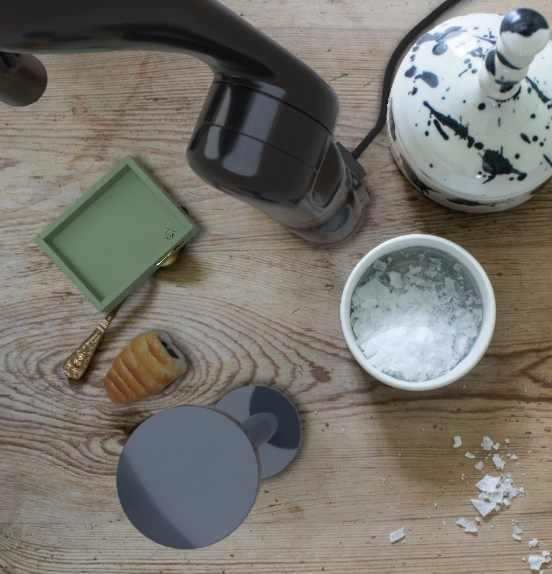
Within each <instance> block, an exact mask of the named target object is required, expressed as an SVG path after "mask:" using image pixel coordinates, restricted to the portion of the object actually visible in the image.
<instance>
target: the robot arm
mask: <svg viewBox="0 0 552 574" xmlns="http://www.w3.org/2000/svg"><path fill="white" fill-rule="evenodd" d="M460 1H461V0H444V1H443V2H442V3H441V4H439V5H438V6H437V7H436V8H434V10H432V11H431V12H430V13H429V14H427V16H425V17H424V18H423V19H422V20H421V21H419V22H418V23H417V24H416V25H415V26H413V28H411V30H409V31H408V32H407V34H405V36H404V37H403V38H402V39H401V40H400V42H399V43H398V44H397V46H396V47H395V49H394V50H393V53H392V54H391V56H390V58H389V61H388V63H387V65H386V70H385V73H384V77H383V82H382V83H383V84H382V92H381V103H380V109H379V115H378V119H377V121H376V124H375V125H374V127H373V128H372V129H371V130H370V131H369V132H368V133H367V135H365V137H364V138H363V139H362V141H360V143H359V144H358V145H357V146H356V148H355V149H354V150H353V151H352V152H350V151H348V150H347V148H346V147H345V146H344V145H343V144H342V143H341V142H340V141H339V140H337V142H335V140H333V136H334V135H335V132H336V128H337V126H338V122H339V116H340V111H341V104H340V99H339V96H338V94H337V92H336V91H335V89H334V88H333V86H332V85H331V84H330V83H329V82H328V81H327V80H326V79H325V78H324V77H323V76H322V75H321V74H320V73H318V71H316V70H315V69H314V68H312V66H310V65H309V64H308V63H307V62H305V61H303V60H302V59H301V58H300V57H298V56H297V55H296V54H294V52H292V51H290V50H288V49H287V48H286V47H284V46H283V45H281V44H280V43H279V42H278V41H276V40H274V39H273V38H272V37H270V36H269V35H267V34H266V33H265V32H264V31H261V30H260V29H259V28H258V27H256V26H254V25H253V24H252V23H250V22H249V21H248V20H247V19H245V18H243V16H240V15H239V14H237V13H236V12H235V11H233V10H231V8H230V7H229V8H228V7H227V6H226V5H224V3H222V2H220V1H219V0H0V71H1V73H2V74H3V75H4V76H8V75H14V74H15V73H16V72H17V71H18V70H19V69H20V68H21V62H22V61H23V58H22V54H32V55H34V56H37V55H39V56H40V55H41V56H42V55H46V56H47V55H81V54H83V55H84V54H99V53H100V54H101V53H113V52H131V51H132V52H135V51H136V52H139V51H141V52H142V51H143V52H156V53H157V52H158V53H169V54H170V53H172V54H181V55H186V56H190V57H193V58H195V59H197V60H199V61H201V62H202V63H204V64H205V65H206V66H207V67H209V69H210V70H211V71H212V74H213V79H212V81H211V85H210V87H209V89H208V92H207V94H206V96H205V99H204V101H203V104H202V107H201V108H200V109H201V110H200V112H199V115H198V117H197V120H196V121H195V125H194V128H193V130H192V133H191V135H190V138H189V141H188V143H187V146H186V151H185V158H186V162H187V165H188V166H189V168H190V169H191V170H192V172H193V173H194V174H195V175H196V176H197V177H199V178H200V179H201V180H202V181H203V182H204V183H206V184H207V185H209V186H210V187H212V188H214V189H216V190H217V191H219V192H221V193H222V194H225V195H227V196H228V197H231V198H234V199H235V200H237V201H238V200H239V201H240V202H243V203H245V204H247V205H248V206H250V207H251V208H253V209H255V210H257V211H259V212H260V213H262V214H264V215H266V216H267V217H269V218H270V219H272V220H274V221H275V222H277V224H280V226H283V227H284V228H285V229H287V230H289V231H290V232H292V233H293V234H295V235H296V236H297V237H298V238H300V239H301V240H303V241H304V242H306V243H308V244H311V245H313V246H316V247H333V246H334V247H335V246H338V245H340V244H343V243H345V242H346V241H348V240H349V239H351V238H352V237H353V236H354V235H355V234H356V233H357V232H358V230H359V229H360V227H361V225H362V223H363V220H364V217H365V212H366V211H365V210H366V206H367V205H369V203H370V202H371V199H370V197H369V195H368V192H367V190H366V188H365V186H364V184H363V182H362V181H361V180H363V179H364V178H365V177H366V176H367V173H366V170H365V168H364V167H363V165H362V164H361V163H360V162H359V161H358V159H359V158H360V157H361V155H362V154H363V153H364V152H365V151H366V149H367V148H368V147H369V146H370V145H371V144H372V142H373V141H374V140H375V139H376V138H377V136H378V135H379V134H380V133H381V132H382V131H383V129H384V127H385V125H386V121H387V118H386V114H387V115H388V113H387V104H388V98H389V99H390V97H389V94H391V88H392V87H391V86H392V80H393V75H394V72H395V68H396V66H397V63H398V62H399V59H400V58H401V56H402V55H403V53H404V52H405V50H406V48H407V47H408V46H409V45H410V43H411V42H413V40H414V39H415V38H416V37H417V36H418V35H419V34H420V33H422V31H424V30H425V29H426V28H427V27H428V26H430V25H431V24H432V23H433V22H434V21H435V20H437V19H438V18H439V17H440V16H442V15H443V14H444V13H445V12H447V11H448V10H449V9H450V8H452V7H453V6H454V5H456V4H457V3H458V2H460Z"/></svg>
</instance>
